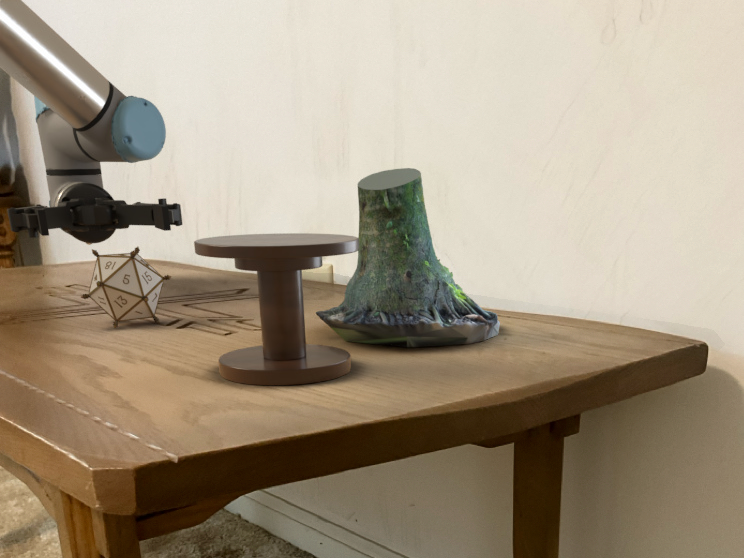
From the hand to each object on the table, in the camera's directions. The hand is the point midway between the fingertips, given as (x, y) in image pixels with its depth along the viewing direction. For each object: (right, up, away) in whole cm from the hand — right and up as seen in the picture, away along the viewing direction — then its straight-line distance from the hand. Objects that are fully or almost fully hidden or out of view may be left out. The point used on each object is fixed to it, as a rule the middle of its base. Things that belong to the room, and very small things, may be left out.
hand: (106, 220), depth 98 cm
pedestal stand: (+24, -22, -26) cm, 42 cm away
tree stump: (+35, -16, -11) cm, 40 cm away
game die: (+4, -13, -4) cm, 14 cm away
